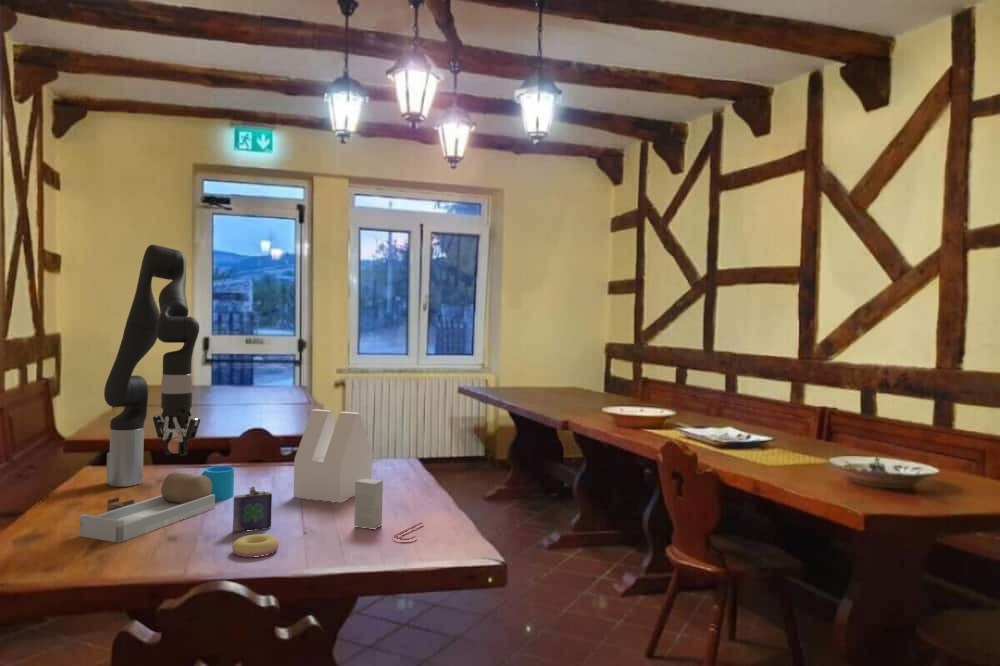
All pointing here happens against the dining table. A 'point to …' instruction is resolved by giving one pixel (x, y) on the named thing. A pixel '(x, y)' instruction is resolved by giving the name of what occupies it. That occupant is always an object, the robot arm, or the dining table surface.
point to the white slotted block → (332, 457)
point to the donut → (255, 545)
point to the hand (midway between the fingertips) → (175, 454)
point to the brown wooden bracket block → (117, 504)
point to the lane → (152, 510)
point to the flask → (252, 511)
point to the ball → (174, 445)
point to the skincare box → (368, 503)
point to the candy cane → (406, 531)
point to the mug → (221, 481)
